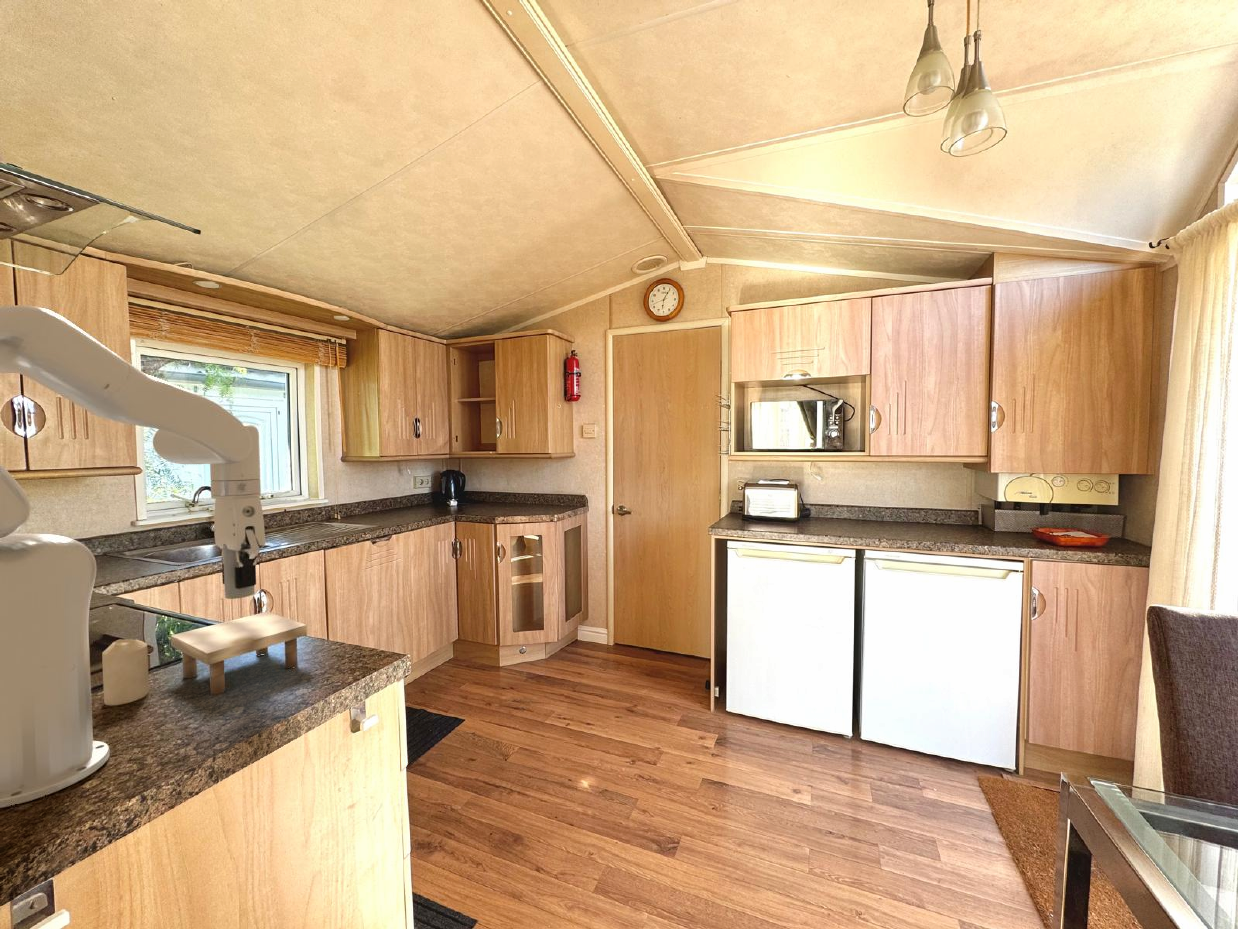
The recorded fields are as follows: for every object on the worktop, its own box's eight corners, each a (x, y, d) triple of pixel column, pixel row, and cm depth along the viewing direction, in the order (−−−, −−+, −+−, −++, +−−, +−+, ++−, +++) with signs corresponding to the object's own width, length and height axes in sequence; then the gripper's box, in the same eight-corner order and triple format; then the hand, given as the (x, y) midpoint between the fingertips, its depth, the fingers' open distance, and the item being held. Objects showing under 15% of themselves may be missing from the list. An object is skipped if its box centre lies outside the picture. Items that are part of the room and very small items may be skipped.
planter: (247, 591, 100) (245, 539, 99) (259, 594, 97) (257, 540, 97) (220, 597, 96) (218, 542, 95) (231, 600, 93) (229, 544, 93)
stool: (208, 700, 86) (207, 653, 86) (172, 678, 94) (170, 635, 94) (307, 665, 99) (306, 625, 99) (268, 648, 108) (267, 611, 108)
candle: (157, 690, 90) (155, 634, 89) (128, 705, 84) (126, 646, 84) (125, 690, 89) (123, 634, 89) (94, 706, 84) (91, 647, 84)
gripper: (280, 489, 94) (283, 586, 95) (239, 486, 103) (241, 575, 104) (233, 493, 88) (236, 596, 89) (193, 489, 97) (196, 583, 98)
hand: (239, 584), depth 96 cm, fingers closed on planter, 4 cm apart
